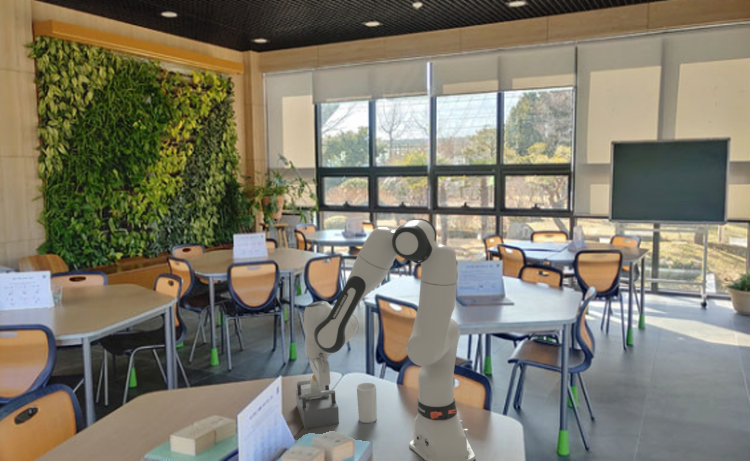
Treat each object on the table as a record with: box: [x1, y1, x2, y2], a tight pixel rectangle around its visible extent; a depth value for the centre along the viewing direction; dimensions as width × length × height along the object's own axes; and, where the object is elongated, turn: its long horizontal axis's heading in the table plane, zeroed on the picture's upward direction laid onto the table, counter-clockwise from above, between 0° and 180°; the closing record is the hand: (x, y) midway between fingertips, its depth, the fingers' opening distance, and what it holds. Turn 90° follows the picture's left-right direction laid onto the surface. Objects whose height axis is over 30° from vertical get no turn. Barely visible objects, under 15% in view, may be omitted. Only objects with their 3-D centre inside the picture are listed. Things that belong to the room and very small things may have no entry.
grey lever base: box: [295, 379, 340, 430], centre depth 203 cm, size 20×12×11 cm, turn 16°
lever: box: [309, 373, 322, 398], centre depth 201 cm, size 3×4×11 cm
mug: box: [356, 382, 378, 424], centre depth 199 cm, size 10×7×12 cm, turn 169°
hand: (320, 388), depth 191 cm, fingers closed
